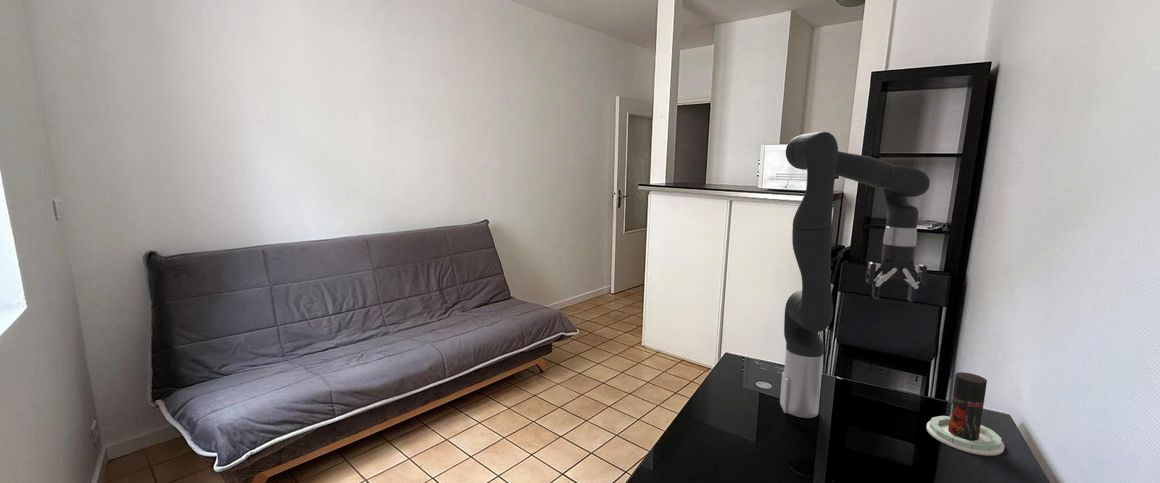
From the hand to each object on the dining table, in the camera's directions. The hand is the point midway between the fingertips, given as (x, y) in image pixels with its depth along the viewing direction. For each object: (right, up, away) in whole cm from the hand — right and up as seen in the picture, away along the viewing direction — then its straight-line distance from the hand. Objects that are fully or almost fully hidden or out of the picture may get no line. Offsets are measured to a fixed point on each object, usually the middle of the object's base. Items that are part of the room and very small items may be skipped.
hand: (893, 299), depth 131 cm
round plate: (+8, -33, -15) cm, 37 cm away
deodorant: (+8, -32, -15) cm, 36 cm away
